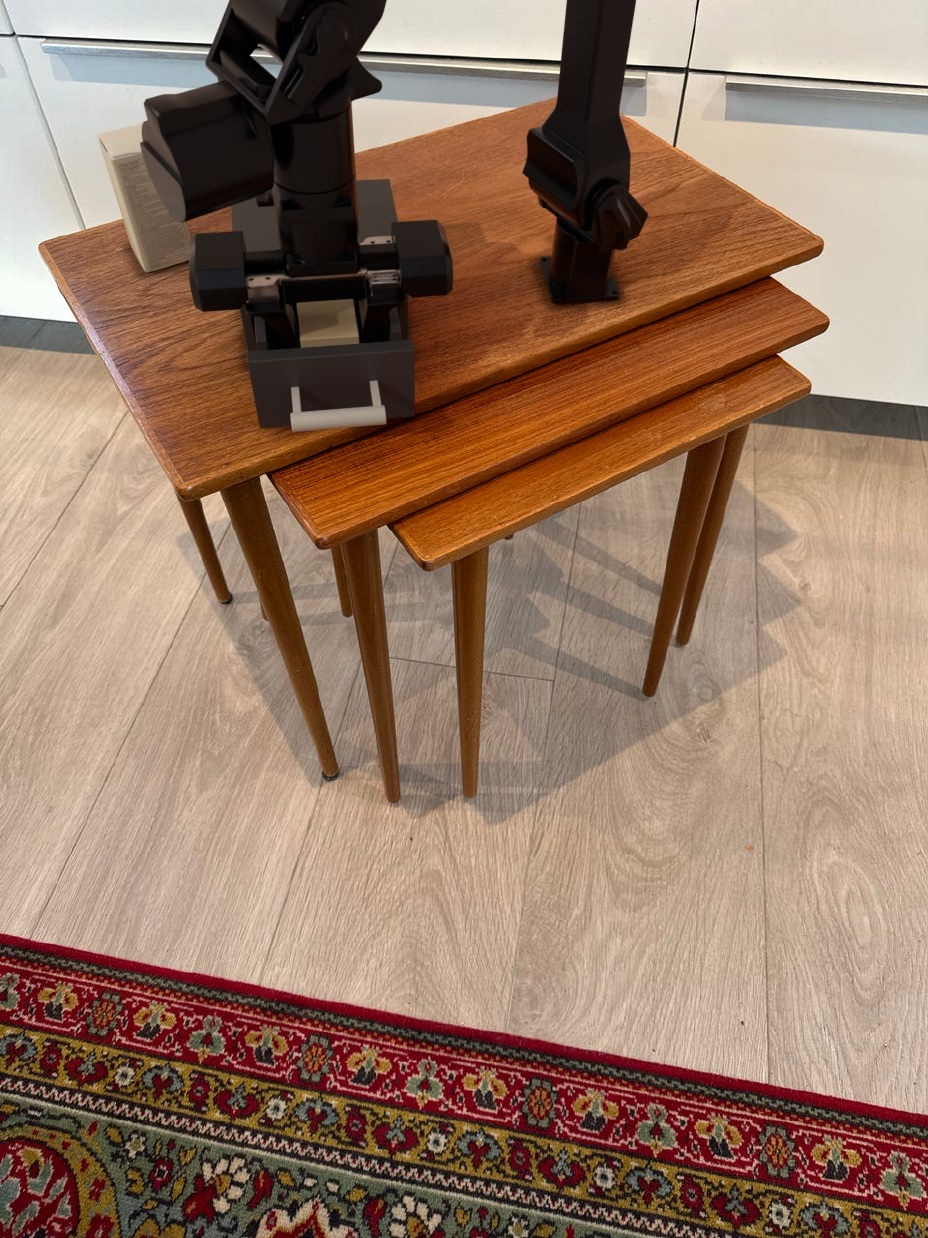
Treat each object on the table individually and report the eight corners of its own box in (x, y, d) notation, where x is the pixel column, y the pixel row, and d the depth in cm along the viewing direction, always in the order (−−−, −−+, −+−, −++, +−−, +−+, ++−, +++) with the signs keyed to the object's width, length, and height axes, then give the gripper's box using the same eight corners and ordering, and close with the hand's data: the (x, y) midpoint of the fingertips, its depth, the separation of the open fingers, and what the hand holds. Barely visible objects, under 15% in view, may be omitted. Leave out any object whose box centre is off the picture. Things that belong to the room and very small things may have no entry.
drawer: (421, 454, 72) (422, 388, 66) (262, 468, 71) (248, 401, 65) (397, 324, 81) (396, 256, 75) (254, 334, 79) (242, 265, 73)
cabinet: (408, 353, 80) (407, 267, 73) (250, 365, 78) (233, 278, 71) (391, 264, 87) (389, 178, 80) (245, 273, 85) (230, 185, 78)
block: (362, 380, 74) (359, 335, 70) (305, 385, 74) (300, 339, 70) (356, 343, 77) (353, 298, 73) (302, 347, 76) (296, 302, 72)
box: (182, 234, 88) (155, 118, 79) (198, 259, 86) (172, 142, 77) (128, 249, 86) (94, 131, 77) (143, 274, 84) (109, 157, 75)
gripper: (433, 101, 67) (431, 285, 80) (171, 112, 64) (212, 300, 77) (457, 189, 61) (450, 372, 74) (168, 204, 58) (214, 391, 71)
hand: (331, 355), depth 74 cm, fingers closed on block, 4 cm apart
